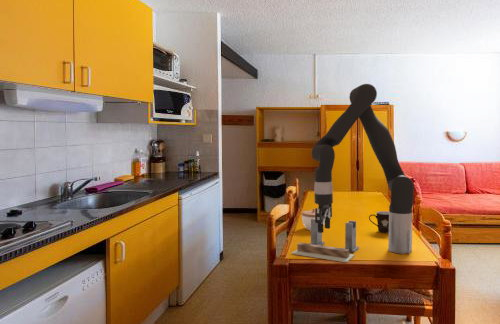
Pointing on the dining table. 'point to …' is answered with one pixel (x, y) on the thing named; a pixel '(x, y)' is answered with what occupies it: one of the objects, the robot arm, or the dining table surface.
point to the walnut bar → (323, 250)
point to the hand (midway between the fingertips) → (324, 230)
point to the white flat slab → (323, 256)
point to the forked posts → (349, 235)
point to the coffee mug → (382, 221)
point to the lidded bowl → (308, 218)
